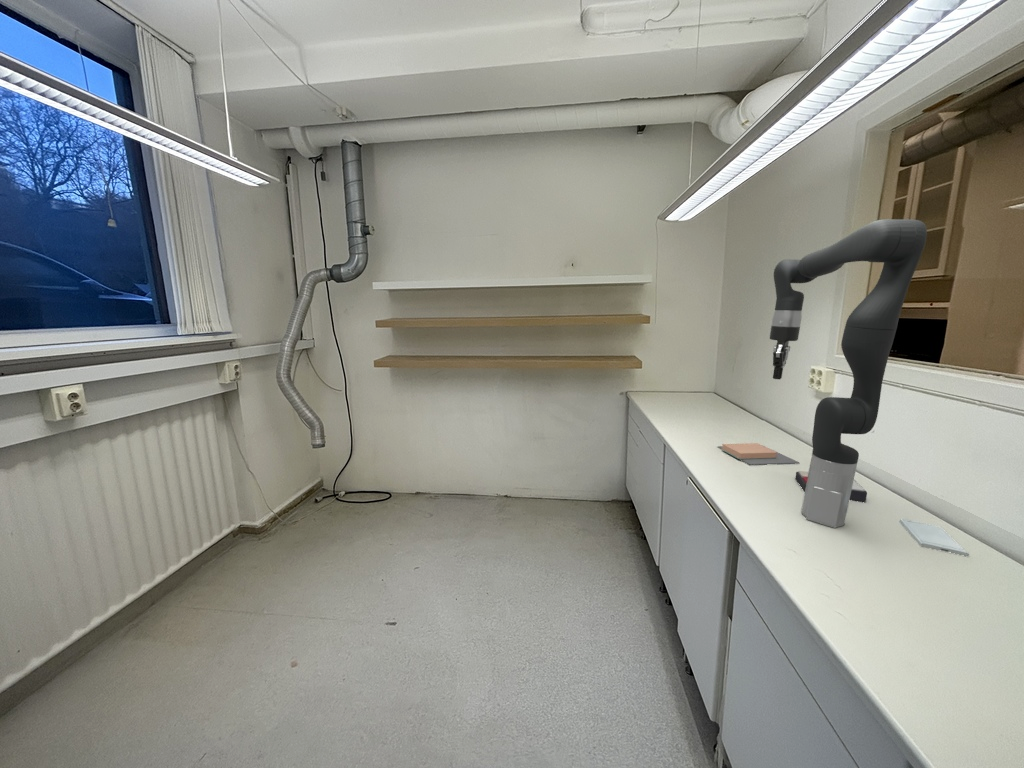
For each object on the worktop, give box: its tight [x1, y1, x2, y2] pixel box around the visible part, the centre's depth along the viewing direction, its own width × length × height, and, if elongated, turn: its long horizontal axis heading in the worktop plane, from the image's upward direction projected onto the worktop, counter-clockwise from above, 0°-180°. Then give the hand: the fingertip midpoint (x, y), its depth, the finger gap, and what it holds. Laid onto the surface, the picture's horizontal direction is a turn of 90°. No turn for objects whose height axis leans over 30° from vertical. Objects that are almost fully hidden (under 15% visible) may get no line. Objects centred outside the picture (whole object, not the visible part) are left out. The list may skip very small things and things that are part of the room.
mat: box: [716, 444, 800, 466], centre depth 149 cm, size 20×18×1 cm
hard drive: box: [898, 518, 970, 557], centre depth 96 cm, size 2×8×12 cm
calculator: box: [795, 470, 868, 503], centre depth 121 cm, size 11×4×15 cm
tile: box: [721, 442, 778, 461], centre depth 148 cm, size 2×10×15 cm
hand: (777, 378), depth 126 cm, fingers closed
